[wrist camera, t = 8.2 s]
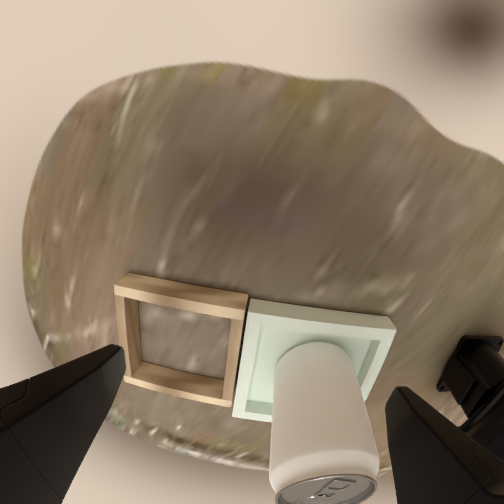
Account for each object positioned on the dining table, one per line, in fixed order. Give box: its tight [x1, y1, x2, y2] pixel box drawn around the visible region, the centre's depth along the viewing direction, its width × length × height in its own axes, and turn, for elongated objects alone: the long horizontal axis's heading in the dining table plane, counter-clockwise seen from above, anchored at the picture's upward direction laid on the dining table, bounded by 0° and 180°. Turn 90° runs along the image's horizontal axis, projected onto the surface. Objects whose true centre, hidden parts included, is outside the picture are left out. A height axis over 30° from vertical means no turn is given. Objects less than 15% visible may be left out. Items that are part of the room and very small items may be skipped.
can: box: [269, 342, 379, 504], centre depth 17 cm, size 6×6×12 cm
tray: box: [232, 298, 397, 422], centre depth 22 cm, size 11×11×2 cm
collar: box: [114, 273, 248, 407], centre depth 22 cm, size 10×10×2 cm
